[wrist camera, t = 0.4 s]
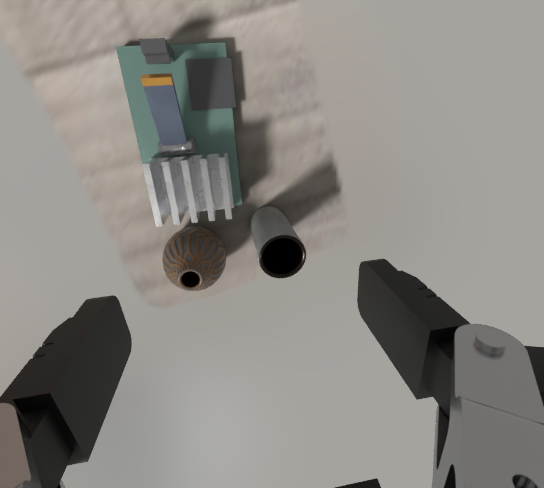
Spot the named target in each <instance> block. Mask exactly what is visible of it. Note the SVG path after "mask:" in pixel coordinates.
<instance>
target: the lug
mask: <svg viewBox="0 0 544 488" xmlns="http://www.w3.org/2000/svg"><path fill="white" fill-rule="evenodd" d="M139 41H140V46H141V51H142V54H143V55H144V56H145V60H146V64H148V65H152V64H171V62H174V55H173V49H172V48H171V47H170V45H169V44H168V43H167V41H166V40H165V38H160V39H139Z"/></svg>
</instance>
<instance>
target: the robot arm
mask: <svg viewBox="0 0 544 488" xmlns="http://www.w3.org/2000/svg"><path fill="white" fill-rule="evenodd" d="M357 301H358V308H359V312H360V315H361V317H362V319H363V320H364V321H365V323H366V324H367V326H368V327H369V329H370V330H371V332H372V333H373V335H374V336H375V338H376V339H377V341H378V342H379V344H380V345H381V347H382V348H383V350H384V351H385V353H386V354H387V355H388V357H389V359H390V360H391V362H392V363H393V365H394V366H395V368H396V369H397V370H398V372H399V374H400V375H401V376H402V378H403V380H404V381H405V383H406V384H407V385H408V387H409V388H410V390H411V391H412V393H413V394H414V396H415V397H416V399H422V398H427V397H434V398H435V400H436V401H437V403H438V407H437V411H436V427H435V447H434V465H433V466H434V467H433V482H432V488H544V347H531V346H524V345H523V344H521V342H519V341H518V340H517V339H516V338H514V337H513V336H511V335H510V334H508V333H506V332H504V331H502V330H499V329H497V328H494V327H491V326H487V325H481V324H470V323H469V322H468V321H467V320H466V319H464V318H463V317H462V316H461V315H460V314H459V313H457V312H456V311H455V310H454V309H453V308H451V307H450V306H449V305H448V304H447V303H446V302H444V301H443V300H442V299H441V298H440V297H437V296H436V294H435V293H434V292H433V291H432V290H431V289H428V288H427V286H426V285H425V284H424V283H422V282H421V281H420V280H419V279H418V278H416V277H414V276H412V275H410V274H408V273H406V272H404V271H398V270H397V269H396V268H395V267H393V266H392V265H391V264H390V263H389V262H388V261H387V260H385V259H378V260H370V261H363V262H361V264H360V267H359V282H358V299H357ZM130 352H131V335H130V331H129V329H128V326H127V323H126V320H125V317H124V314H123V312H122V309H121V306H120V303H119V300H118V299H117V297H116V296H106V297H99V298H92V299H87V300H86V301H85V302H84V303H83V305H82V306H81V307H80V308H79V310H78V311H77V312H76V314H75V315H74V317H72V318H69V319H67V320H66V321H65V322H63V323H62V324H61V325H59V326H58V327H57V328H56V329H54V330H53V331H52V333H50V335H49V336H48V337H47V339H46V340H45V341H44V342H43V344H42V347H39V349H38V350H37V351H36V352H35V354H34V355H33V359H30V360H29V361H28V363H27V364H26V365H25V366H24V368H23V369H22V370H21V372H20V373H19V374H18V375H17V377H16V378H15V379H14V380H13V382H12V383H11V384H10V385H9V387H8V388H7V389H6V391H5V392H4V393H3V394H2V396H1V397H0V488H65V486H64V484H63V482H62V480H61V478H62V476H63V473H64V471H65V469H66V467H67V465H72V464H77V463H82V462H88V460H89V457H90V455H91V452H92V450H93V447H94V444H95V442H96V439H97V437H98V434H99V432H100V429H101V427H102V424H103V422H104V419H105V417H106V414H107V411H108V409H109V406H110V404H111V401H112V399H113V396H114V394H115V391H116V389H117V386H118V383H119V381H120V378H121V376H122V373H123V371H124V368H125V365H126V363H127V361H128V358H129V355H130ZM336 488H381V487H380V484H379V482H378V479H372V480H368V481H363V482H358V483H354V484H349V485H345V486H341V487H336Z"/></svg>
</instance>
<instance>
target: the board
mask: <svg viewBox="0 0 544 488" xmlns="http://www.w3.org/2000/svg"><path fill="white" fill-rule="evenodd" d="M170 47H171V48H172V49H173V55H174V62H171V64H152V65H148V64H146V60H145V56H144V55H143V54H142V51H141V46H119V47H116V49H117V54H118V58H119V62H120V67H121V71H122V76H123V80H124V84H125V89H126V93H127V98H128V102H129V106H130V111H131V115H132V119H133V124H134V128H135V133H136V137H137V141H138V146H139V150H140V155H141V159H142V163H145V162H147V161H149V159H151V158H160V157H172V156H185V155H197V154H210V153H223V152H228V161H229V169H230V178H231V186H232V195H233V203H234V206H237V205H242V197H241V187H240V178H239V168H238V159H237V149H236V140H235V130H234V121H233V111H232V108H236V101H235V91H234V81H233V72H232V62H231V58H227V54H226V44H225V42H223V43H197V44H171V45H170ZM168 73H172V77H173V82H174V86H175V90H176V94H177V98H178V103H179V107H180V111H181V115H182V120H183V124H184V128H185V132H186V137H187V138H195V141H196V148H197V152H195V153H183V154H170V155H160V153H159V150H158V141H159V140H160V138H159V135H158V132H157V129H156V125H155V122H154V119H153V116H152V113H151V110H150V107H149V104H148V100H147V97H146V94H145V91H144V88H143V85H142V82H141V75H147V74H168Z"/></svg>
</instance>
